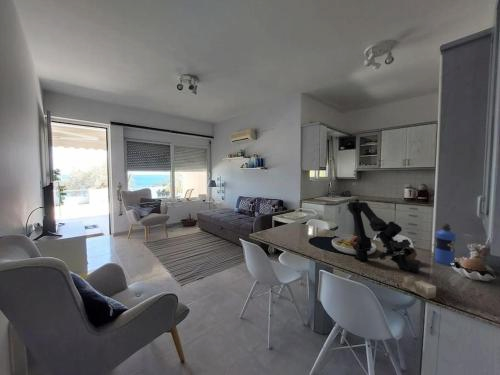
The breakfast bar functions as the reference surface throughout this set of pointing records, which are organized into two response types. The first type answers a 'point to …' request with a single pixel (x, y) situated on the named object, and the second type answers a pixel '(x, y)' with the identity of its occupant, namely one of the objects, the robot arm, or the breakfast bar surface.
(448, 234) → the water bottle
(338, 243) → the bowl
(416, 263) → the end cap
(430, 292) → the beech block
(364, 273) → the breakfast bar surface
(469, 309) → the breakfast bar surface
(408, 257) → the decorative rock
